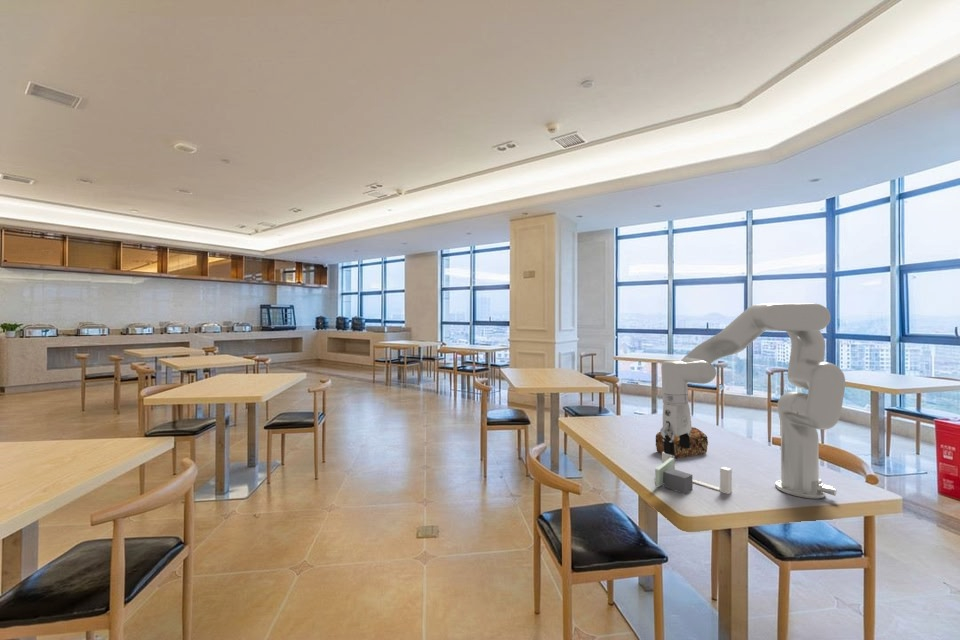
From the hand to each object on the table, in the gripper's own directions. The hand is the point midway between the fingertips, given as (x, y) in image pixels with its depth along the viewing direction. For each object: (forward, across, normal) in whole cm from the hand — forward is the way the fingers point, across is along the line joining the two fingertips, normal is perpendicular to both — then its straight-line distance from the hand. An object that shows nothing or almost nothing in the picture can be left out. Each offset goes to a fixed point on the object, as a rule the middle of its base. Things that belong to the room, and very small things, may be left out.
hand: (677, 450), depth 133 cm
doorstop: (+12, 0, 0) cm, 12 cm away
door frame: (+12, +9, -2) cm, 15 cm away
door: (+12, +2, +5) cm, 13 cm away
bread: (+13, +36, +18) cm, 42 cm away
